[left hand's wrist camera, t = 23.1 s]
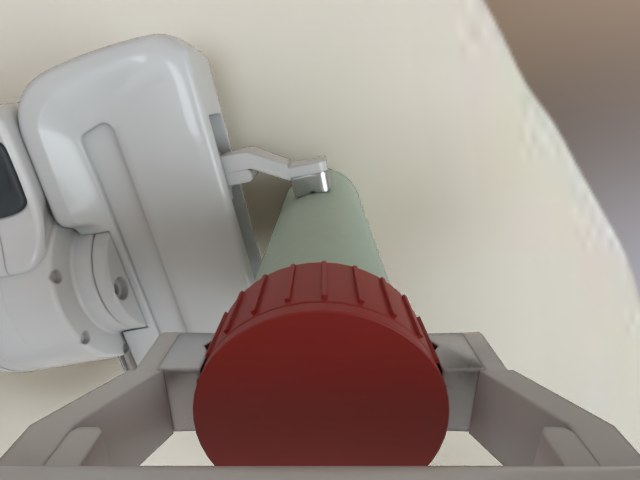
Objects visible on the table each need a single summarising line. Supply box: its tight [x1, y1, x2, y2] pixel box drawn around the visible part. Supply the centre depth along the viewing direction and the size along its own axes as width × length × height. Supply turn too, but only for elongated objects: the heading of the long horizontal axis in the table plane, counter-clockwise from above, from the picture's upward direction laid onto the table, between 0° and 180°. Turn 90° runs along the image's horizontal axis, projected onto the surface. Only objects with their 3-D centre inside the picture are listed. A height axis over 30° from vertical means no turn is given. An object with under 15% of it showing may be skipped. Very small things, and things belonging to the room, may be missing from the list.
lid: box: [193, 261, 450, 466], centre depth 9 cm, size 6×6×2 cm
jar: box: [254, 169, 390, 284], centre depth 17 cm, size 5×5×17 cm
